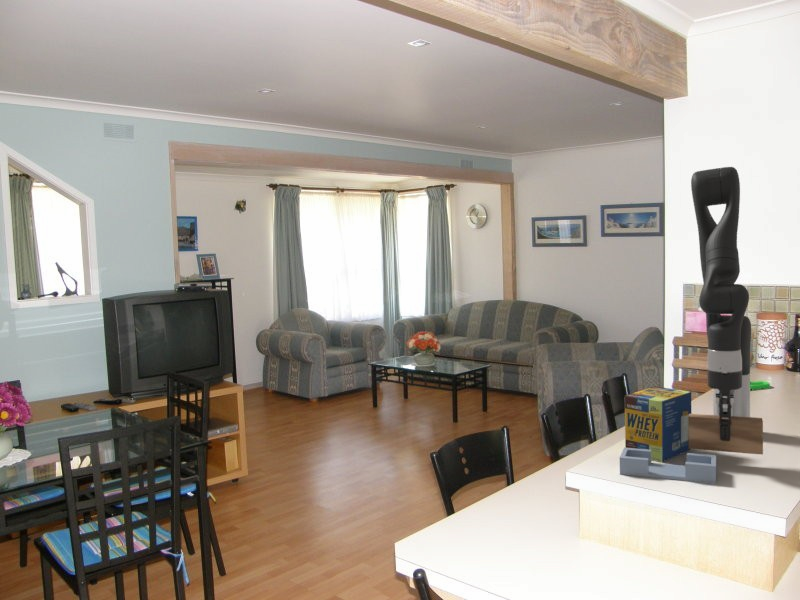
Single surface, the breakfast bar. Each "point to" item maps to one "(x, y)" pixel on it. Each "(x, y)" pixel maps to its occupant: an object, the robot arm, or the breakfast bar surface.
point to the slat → (742, 434)
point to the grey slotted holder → (668, 466)
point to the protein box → (658, 421)
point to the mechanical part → (759, 385)
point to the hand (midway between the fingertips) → (725, 438)
